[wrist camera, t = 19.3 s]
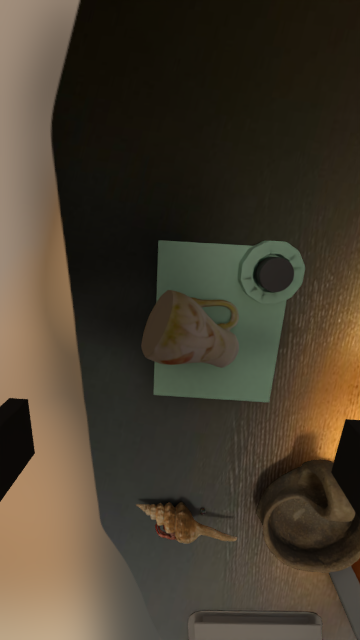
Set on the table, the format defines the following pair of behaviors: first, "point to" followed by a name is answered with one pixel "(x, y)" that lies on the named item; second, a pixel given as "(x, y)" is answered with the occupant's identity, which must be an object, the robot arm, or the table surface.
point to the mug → (189, 332)
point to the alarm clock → (349, 593)
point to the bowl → (310, 520)
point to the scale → (227, 315)
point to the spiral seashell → (180, 523)
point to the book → (254, 625)
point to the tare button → (274, 274)
